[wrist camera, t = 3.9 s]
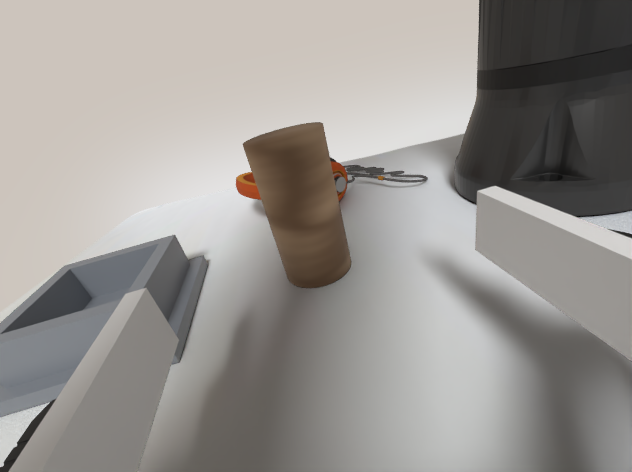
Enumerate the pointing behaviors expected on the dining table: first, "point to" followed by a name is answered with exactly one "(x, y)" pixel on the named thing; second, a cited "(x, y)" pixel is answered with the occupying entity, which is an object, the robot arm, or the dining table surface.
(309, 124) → the walnut cylinder
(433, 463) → the dining table surface
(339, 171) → the headphones
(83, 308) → the grey square tray
